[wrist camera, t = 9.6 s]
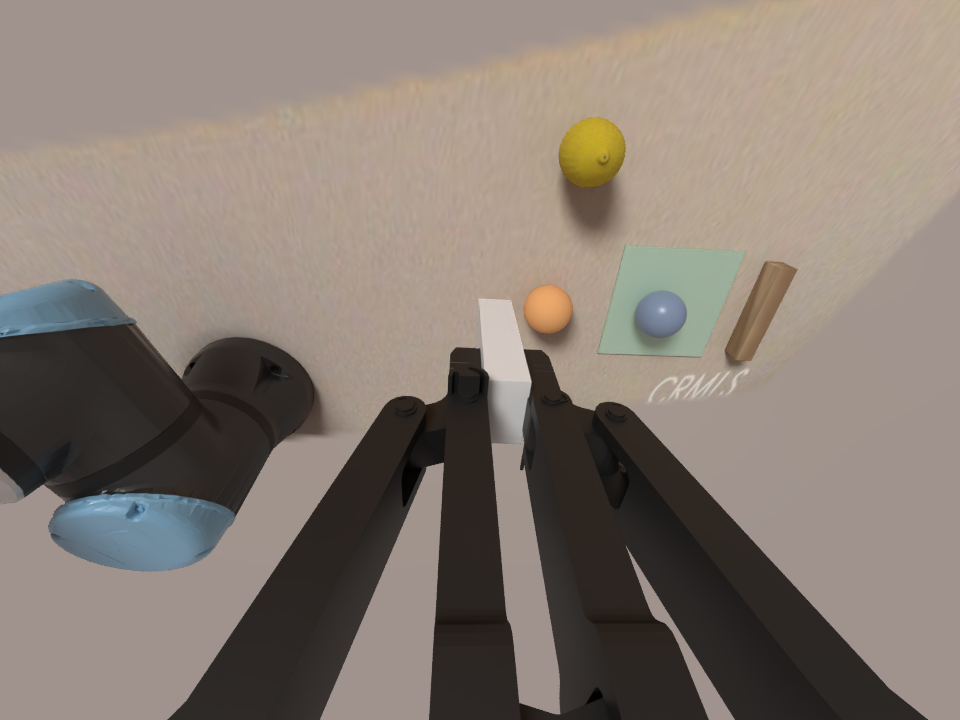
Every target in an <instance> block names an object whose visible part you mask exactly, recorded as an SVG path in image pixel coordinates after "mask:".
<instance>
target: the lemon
mask: <svg viewBox="0 0 960 720" xmlns="http://www.w3.org/2000/svg"><path fill="white" fill-rule="evenodd" d="M624 157H625V141H624V138H623V135H622V133H621V131H620V130H619V129H618V128H617V126H616V125H615V124H613V123H612V122H610V121H609V120H606V119H603V118H599V117H596V118H588V119H584V120H581V121H580V122H578V123H577V124H575V125H573V127H572V128H571V129H570V130H569V131H568V132H567V133H566V135H565V136H564V138H563V140H562V143H561V145H560V150H559V164H560V167H561V170H562V172H563V173H564V175H565V176H566V178H567V179H568V180H570V181H571V182H572V183H573V184H576V185H578V186H580V187H588V188H590V187H596V186H599V185H602V184H604V183H606V182H608V181H609V180H610V179H612V178H613V177H614V176H615V174H616V173H617V172H618V171H619V169H620V167H621V166H622V163H623V160H624Z"/></svg>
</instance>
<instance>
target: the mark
mask: <svg viewBox="0 0 960 720" xmlns="http://www.w3.org/2000/svg"><path fill="white" fill-rule="evenodd" d="M744 255H745V252H743V251H723V250H704V249H685V248H665V247H646V246H627V245H625V248H624V252H623V256H622V260H621V264H620V268H619V271H618V275H617V279H616V283H615V287H614V291H613V295H612V299H611V303H610V306H609V310H608V314H607V318H606V322H605V326H604V330H603V334H602V338H601V341H600V345H599V349H598V353H602V354H632V355H662V356H692V357H701V356H702V354H703V351H704V349H705V347H706V344H707V342H708V339H709V337H710V335H711V332H712V330H713V328H714V325H715V323H716V321H717V318H718V316H719V314H720V311H721V309H722V307H723V304H724V302H725V299H726V297H727V295H728V292H729V290H730V288H731V285H732V283H733V281H734V278H735V276H736V274H737V271H738V269H739V267H740V264H741V262H742V259H743V257H744ZM655 291H670V292H673V293H675V294H676V295H678V296H679V297H680V298H681V299H682V300H683V301H684V303H685V305H686V308H687V318H686V322H685V324H684V325H683V327H682V328H681V329H680V330H679V331H678V332H677V333H676V334H674V335H672V336H670V337H666V338H654V337H650V336H648V335H646V334H644V333H643V332H642V331H641V330H640V329H639V327H638V326H637V323H636V320H635V311H636V308H637V305H638V303H639V302H640V301H641V300H642V298H644V297H645V296H646V295H648V294H650V293H652V292H655Z"/></svg>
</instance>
